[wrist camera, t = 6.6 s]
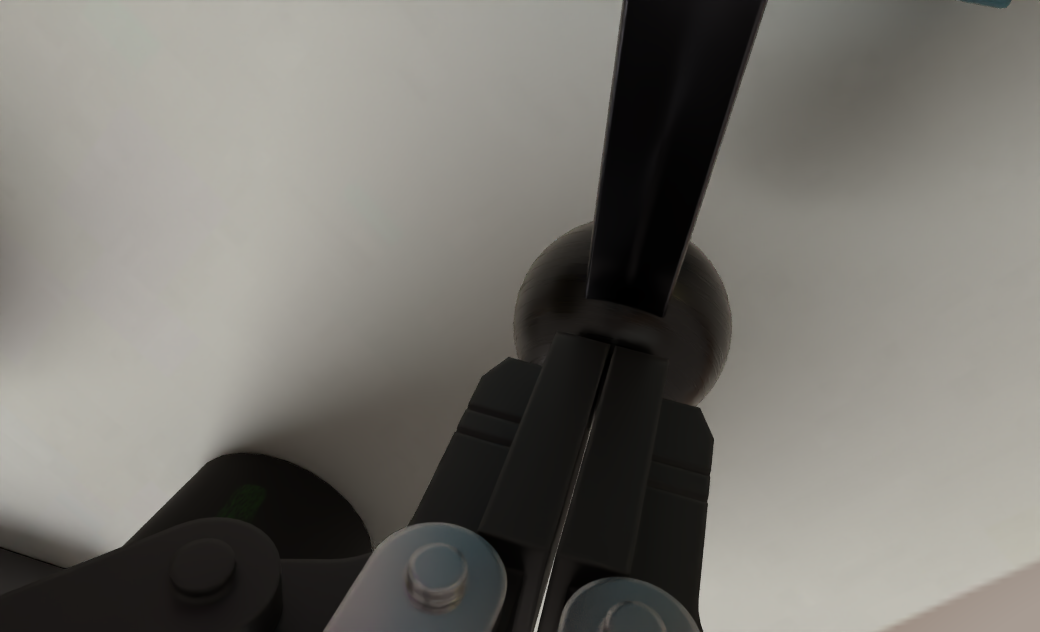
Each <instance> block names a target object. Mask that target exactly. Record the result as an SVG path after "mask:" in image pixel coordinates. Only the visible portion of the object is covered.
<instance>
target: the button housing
mask: <svg viewBox="0 0 1040 632" xmlns="http://www.w3.org/2000/svg"><path fill="white" fill-rule="evenodd" d="M62 570H65V569H62V568H59V567H56V566H53V565H50V564H47V563H44V562H40V561H37V560H34V559H31V558H28V557H25V556H22V555H19V554H16V553H13V552H10V551H7V550H4V549H1V548H0V595H2V594H4V593H7V592H9V591H12V590H14V589H17V588H19V587H22V586H24V585H27V584H29V583H32V582H34V581H37V580H40V579H42V578H45V577H47V576H50V575H52V574H55V573H57V572H60V571H62Z"/></svg>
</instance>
